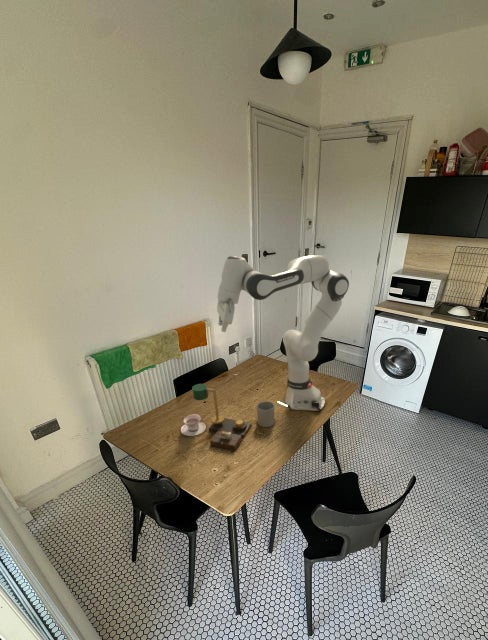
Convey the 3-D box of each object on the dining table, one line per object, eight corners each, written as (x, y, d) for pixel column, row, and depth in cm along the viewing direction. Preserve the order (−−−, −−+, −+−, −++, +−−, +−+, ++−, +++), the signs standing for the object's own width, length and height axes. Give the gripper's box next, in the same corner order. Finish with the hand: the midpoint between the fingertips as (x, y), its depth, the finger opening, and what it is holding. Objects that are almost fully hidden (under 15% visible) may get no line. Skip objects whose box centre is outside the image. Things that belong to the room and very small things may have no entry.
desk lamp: (226, 417, 160) (223, 387, 151) (220, 425, 154) (216, 394, 145) (201, 412, 163) (196, 382, 154) (194, 420, 157) (189, 389, 148)
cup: (276, 419, 165) (276, 403, 159) (270, 428, 158) (270, 411, 153) (261, 416, 167) (260, 400, 162) (255, 425, 160) (254, 408, 155)
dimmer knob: (231, 437, 146) (231, 432, 145) (230, 439, 145) (229, 434, 143) (221, 435, 148) (221, 430, 146) (220, 437, 146) (219, 432, 145)
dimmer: (242, 439, 150) (242, 434, 149) (234, 451, 143) (233, 446, 141) (219, 434, 153) (218, 429, 152) (210, 446, 146) (209, 441, 144)
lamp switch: (244, 423, 156) (244, 420, 155) (241, 427, 153) (241, 424, 152) (237, 422, 157) (237, 419, 156) (234, 426, 154) (234, 423, 153)
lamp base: (251, 425, 160) (251, 420, 158) (243, 437, 151) (243, 431, 150) (218, 419, 164) (217, 414, 162) (209, 431, 156) (208, 425, 154)
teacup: (197, 439, 150) (195, 428, 147) (175, 433, 154) (173, 422, 150) (210, 425, 160) (209, 414, 157) (190, 420, 163) (188, 409, 160)
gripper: (240, 303, 127) (232, 337, 133) (231, 293, 144) (225, 323, 150) (224, 300, 125) (217, 334, 130) (217, 290, 142) (211, 320, 147)
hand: (221, 328), depth 140 cm, fingers open, 8 cm apart
